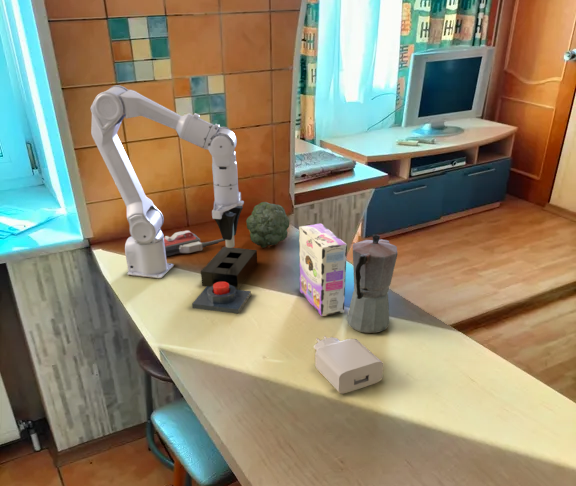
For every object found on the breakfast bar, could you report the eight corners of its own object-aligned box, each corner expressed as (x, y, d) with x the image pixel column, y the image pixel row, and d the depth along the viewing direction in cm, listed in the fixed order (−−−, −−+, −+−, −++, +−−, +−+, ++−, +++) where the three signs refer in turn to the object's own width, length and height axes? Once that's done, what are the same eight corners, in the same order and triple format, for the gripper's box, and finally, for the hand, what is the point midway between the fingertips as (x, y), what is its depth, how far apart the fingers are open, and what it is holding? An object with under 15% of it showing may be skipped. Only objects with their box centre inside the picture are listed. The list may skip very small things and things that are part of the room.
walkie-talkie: (161, 261, 155) (228, 245, 164) (159, 246, 153) (227, 230, 162) (149, 250, 162) (215, 235, 171) (147, 235, 160) (213, 220, 169)
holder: (202, 286, 143) (200, 271, 141) (224, 260, 155) (223, 246, 153) (238, 290, 140) (237, 275, 138) (257, 264, 153) (256, 249, 151)
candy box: (345, 313, 130) (348, 243, 122) (320, 317, 129) (322, 248, 120) (321, 286, 142) (322, 221, 133) (298, 290, 140) (298, 225, 132)
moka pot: (399, 313, 130) (407, 227, 120) (378, 347, 118) (385, 256, 108) (358, 304, 133) (363, 221, 123) (334, 337, 121) (336, 248, 111)
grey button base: (192, 308, 133) (191, 296, 132) (207, 290, 141) (206, 279, 139) (238, 314, 131) (237, 302, 129) (251, 295, 138) (250, 284, 137)
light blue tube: (223, 247, 146) (221, 212, 141) (227, 243, 148) (224, 209, 143) (233, 248, 145) (230, 213, 140) (236, 244, 147) (234, 210, 142)
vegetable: (279, 220, 174) (304, 212, 161) (263, 259, 172) (286, 254, 158) (245, 200, 169) (267, 189, 156) (227, 239, 167) (249, 232, 153)
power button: (211, 294, 133) (210, 287, 132) (217, 287, 136) (216, 280, 135) (226, 296, 132) (225, 289, 132) (231, 289, 135) (231, 282, 134)
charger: (340, 342, 120) (382, 381, 108) (300, 354, 116) (338, 395, 105) (341, 322, 117) (384, 360, 106) (299, 333, 114) (339, 373, 102)
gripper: (231, 193, 131) (234, 249, 138) (251, 175, 143) (253, 227, 150) (201, 191, 133) (206, 247, 140) (224, 173, 145) (227, 225, 152)
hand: (229, 237), depth 145 cm, fingers closed on light blue tube, 2 cm apart
